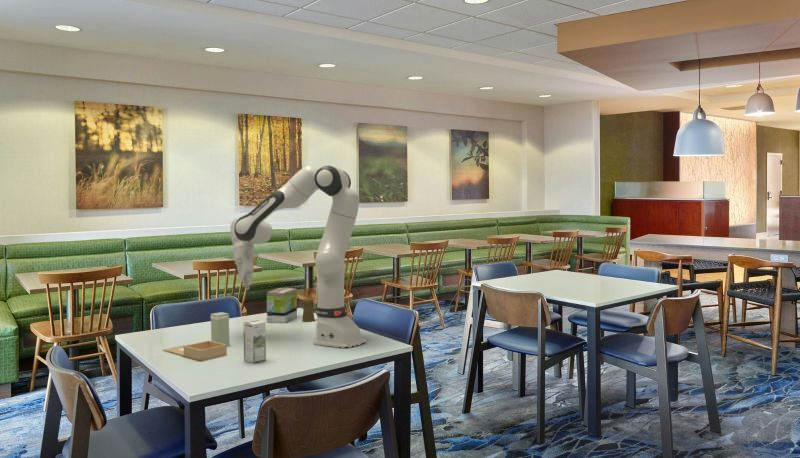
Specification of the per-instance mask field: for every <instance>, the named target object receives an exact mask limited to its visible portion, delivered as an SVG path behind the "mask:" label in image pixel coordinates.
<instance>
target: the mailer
mask: <svg viewBox="0 0 800 458" xmlns="http://www.w3.org/2000/svg"><path fill="white" fill-rule="evenodd" d="M227 347H228V346H226V344H222V343H218V342H214V341H211V340H205V341H200V342H196V343H191V344H189V343H188V344H183V345H179V346H178V345H177V346H174V347H170V348H164V349H162V351H163V352H166V353H169V354H174V355H177V356H180V357H184V358H187V359H191V360H195V361H198V362H204V361H208V360H212V359H217V358H220V357H224V356H227V355H228V352H227Z"/></svg>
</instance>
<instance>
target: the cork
mask: <svg viewBox="0 0 800 458" xmlns="http://www.w3.org/2000/svg"><path fill="white" fill-rule="evenodd" d="M302 304H303V310H302V318H301V319H302V320H301V321H302V322H304V323H313V322H315V314H314V307H313V305H314V299H313V298H311V297H305V298H303V299H302ZM312 321H313V322H312Z"/></svg>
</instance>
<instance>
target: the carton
mask: <svg viewBox="0 0 800 458" xmlns="http://www.w3.org/2000/svg"><path fill="white" fill-rule="evenodd" d="M229 318H230V314H229V313H228V312H222V311H221V312H220V311H219V312H214V313H210V331H211V332H210V335H211V337H210V338H211V339H210V341H214V342H218V343H222V344H226V347H229V346H230V319H229Z"/></svg>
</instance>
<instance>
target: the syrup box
mask: <svg viewBox="0 0 800 458" xmlns="http://www.w3.org/2000/svg"><path fill="white" fill-rule="evenodd" d="M266 332H267V330H266V321H264V320H260V319H254V320H249V321H244V322H243V361H244V362H248V363H251V364H255V363H259V362H264V361H266V359H267V356H266V355H267V354H266V353H267V352H266V350H267V347H266V345H267V344H266V343H267V342H266V339H267V337H266Z"/></svg>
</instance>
